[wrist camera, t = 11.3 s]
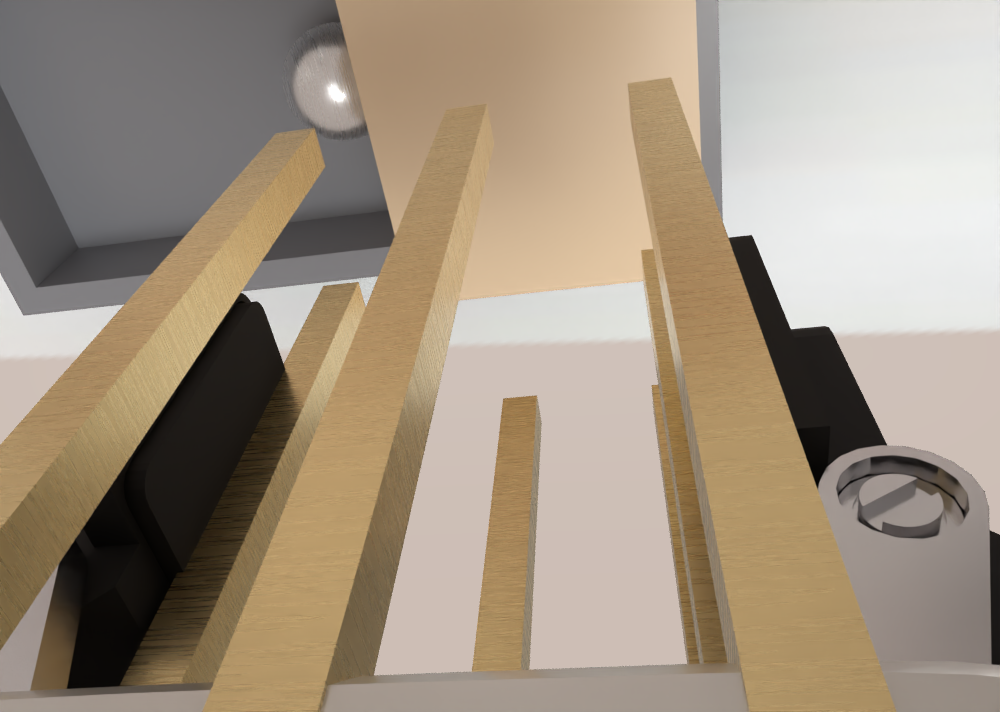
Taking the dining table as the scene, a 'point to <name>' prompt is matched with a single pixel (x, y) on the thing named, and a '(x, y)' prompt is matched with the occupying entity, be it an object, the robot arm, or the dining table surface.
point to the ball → (324, 84)
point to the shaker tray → (349, 163)
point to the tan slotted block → (402, 439)
